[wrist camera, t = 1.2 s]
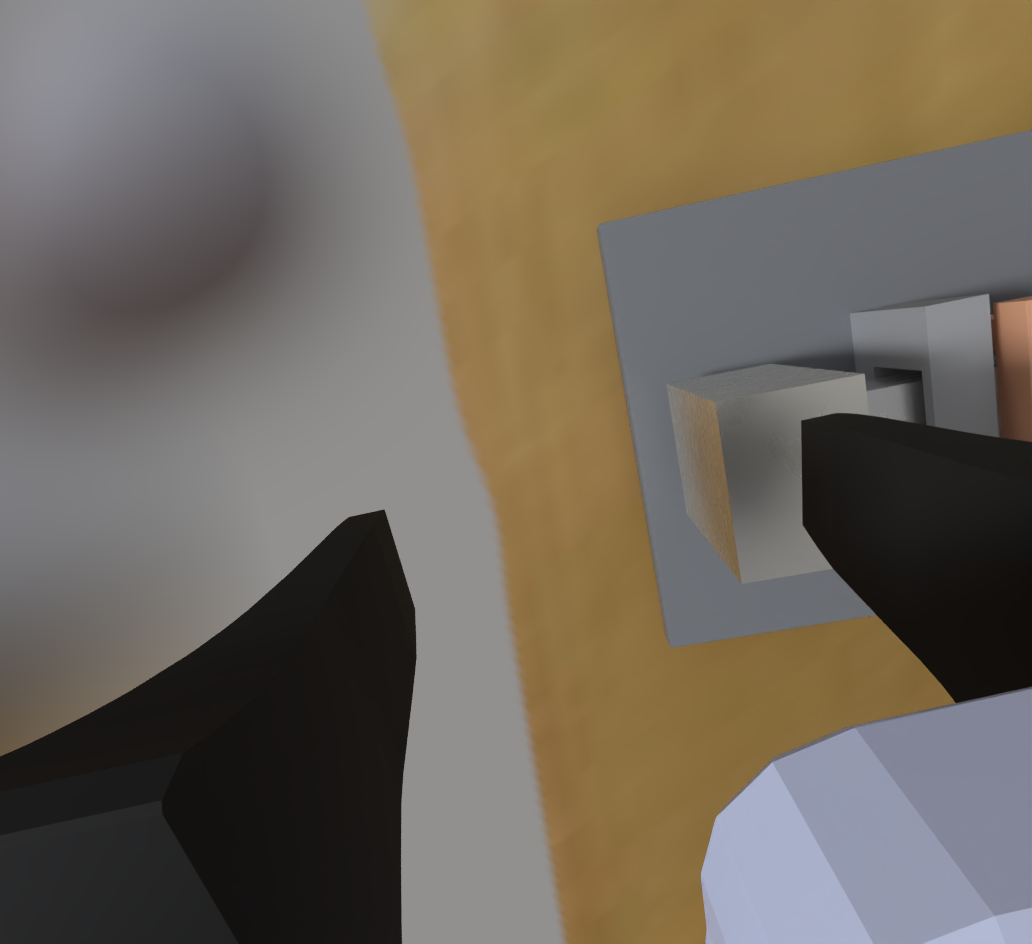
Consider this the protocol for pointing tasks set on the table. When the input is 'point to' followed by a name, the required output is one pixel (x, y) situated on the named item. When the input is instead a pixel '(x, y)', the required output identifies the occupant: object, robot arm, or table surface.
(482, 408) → the table surface
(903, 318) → the bracket
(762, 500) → the shaft
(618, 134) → the table surface
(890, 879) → the robot arm
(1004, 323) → the spacer
